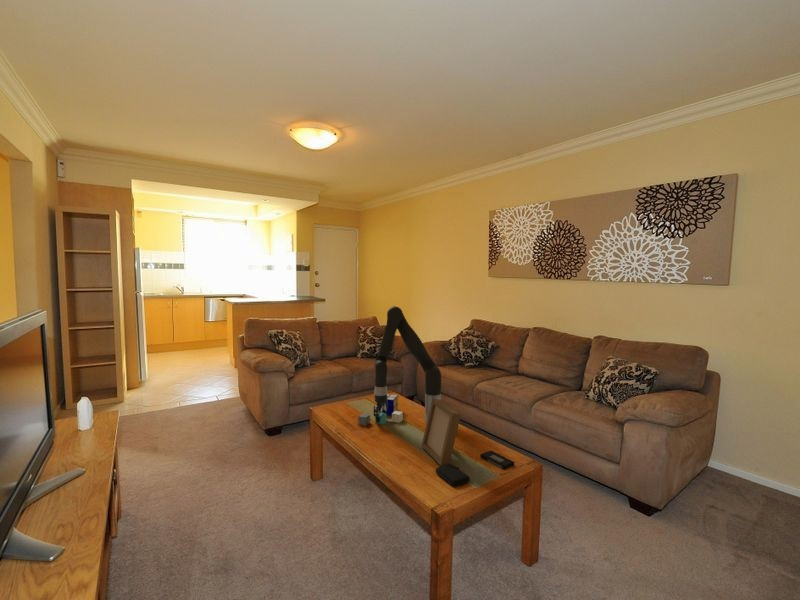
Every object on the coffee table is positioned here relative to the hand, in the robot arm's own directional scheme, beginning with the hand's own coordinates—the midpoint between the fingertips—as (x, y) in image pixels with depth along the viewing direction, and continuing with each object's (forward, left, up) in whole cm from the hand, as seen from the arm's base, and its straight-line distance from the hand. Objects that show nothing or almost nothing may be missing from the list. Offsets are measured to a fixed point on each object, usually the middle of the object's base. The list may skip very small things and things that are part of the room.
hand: (380, 419), depth 235 cm
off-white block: (-8, -6, -1) cm, 10 cm away
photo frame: (-47, +25, -2) cm, 53 cm away
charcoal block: (+8, +6, -1) cm, 10 cm away
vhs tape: (-72, +21, -2) cm, 75 cm away
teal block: (0, 0, -1) cm, 1 cm away
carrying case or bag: (-57, +43, -2) cm, 71 cm away
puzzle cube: (+3, -17, -2) cm, 17 cm away
